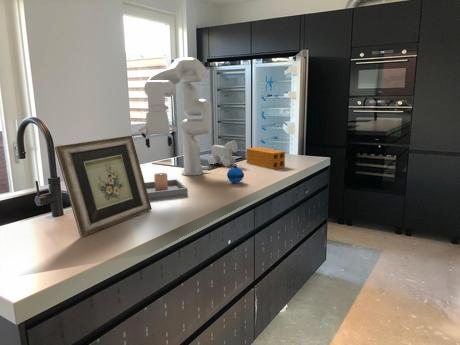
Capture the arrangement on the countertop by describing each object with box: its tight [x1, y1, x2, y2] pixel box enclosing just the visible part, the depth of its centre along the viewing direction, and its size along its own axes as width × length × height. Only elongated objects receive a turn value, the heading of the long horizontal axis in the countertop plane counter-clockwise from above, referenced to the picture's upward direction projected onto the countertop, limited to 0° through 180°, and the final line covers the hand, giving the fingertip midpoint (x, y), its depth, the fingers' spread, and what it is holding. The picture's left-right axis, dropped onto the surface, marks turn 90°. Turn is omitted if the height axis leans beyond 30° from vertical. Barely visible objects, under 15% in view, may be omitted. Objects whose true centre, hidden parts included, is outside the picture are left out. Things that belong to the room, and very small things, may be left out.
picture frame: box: [54, 135, 153, 238], centre depth 135 cm, size 33×10×30 cm, turn 148°
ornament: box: [226, 163, 245, 184], centre depth 191 cm, size 9×9×10 cm
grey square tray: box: [144, 178, 189, 201], centre depth 175 cm, size 20×20×4 cm
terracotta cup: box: [153, 172, 169, 191], centre depth 175 cm, size 6×6×8 cm
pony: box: [207, 139, 239, 168], centre depth 237 cm, size 20×10×17 cm, turn 58°
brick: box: [245, 146, 286, 170], centre depth 236 cm, size 26×10×10 cm, turn 35°
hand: (159, 146), depth 171 cm, fingers open, 9 cm apart
